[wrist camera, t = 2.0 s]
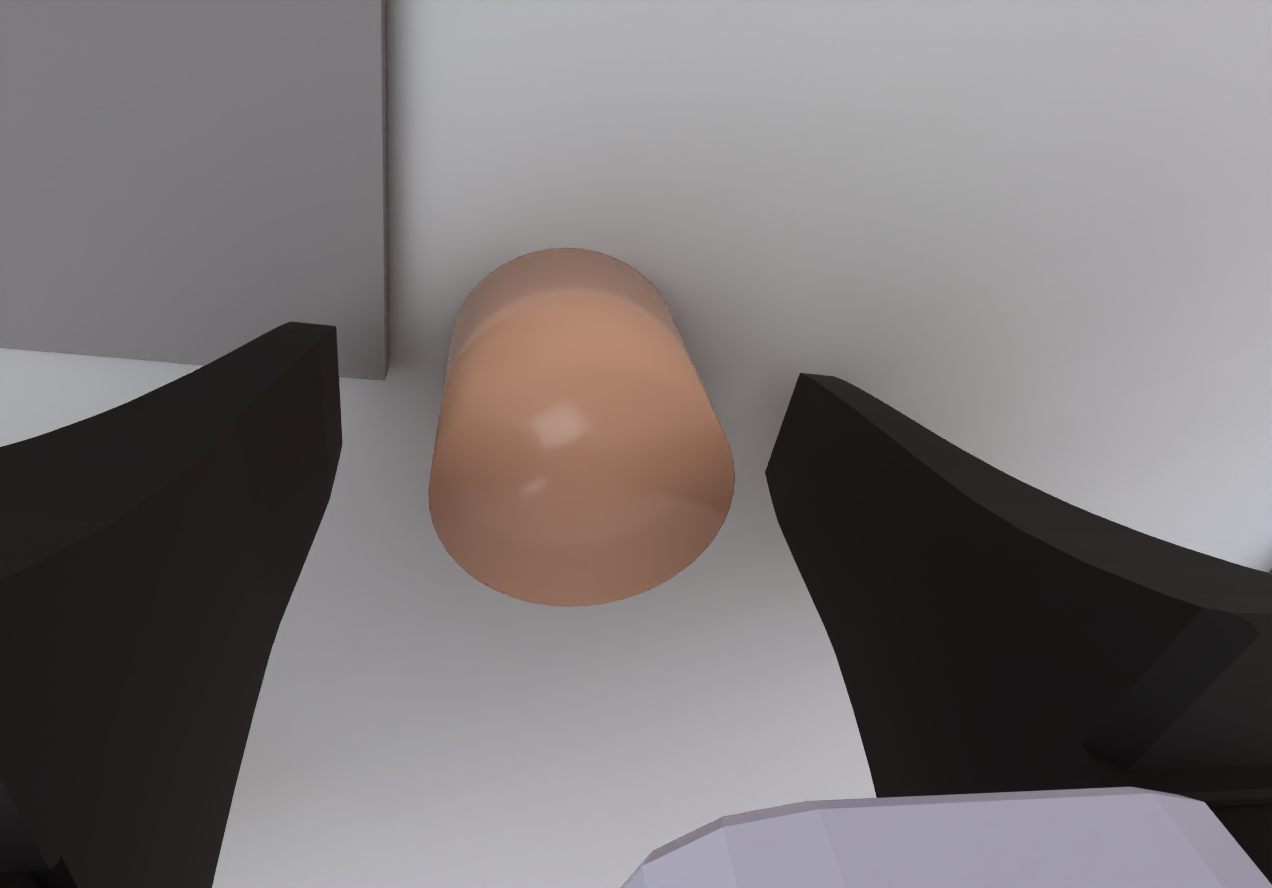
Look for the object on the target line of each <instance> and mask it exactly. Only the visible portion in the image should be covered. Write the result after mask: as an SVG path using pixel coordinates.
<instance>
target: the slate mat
mask: <svg viewBox="0 0 1272 888" xmlns="http://www.w3.org/2000/svg"><path fill="white" fill-rule="evenodd" d="M290 321H291V322H301V323H311V324H320V325H330V326H336V330H337V350H338V369H339V377H349V378H361V379H373V380H384V381H385V379H386V375H387V372H388V257H387V127H386V0H0V348H9V349H21V350H33V351H44V352H56V353H68V354H80V355H91V356H103V357H115V358H126V359H138V360H150V361H162V362H173V363H185V364H197V365H207V364H209V363H211V362H213V361H215V360H216V359H218V358H220V357H222V356H224V355H226V354H228V353H230V352H231V351H233V350H235V349H237V348H239V347H241V346H243V345H244V344H246V343H248V342H250V341H252V340H254V339H255V338H257V337H259V336H261V335H263V334H265V333H267V332H268V331H270V330H272V329H274V328H276V327H278V326H281V325H283V324H285V323H288V322H290Z"/></svg>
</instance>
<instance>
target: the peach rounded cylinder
mask: <svg viewBox="0 0 1272 888" xmlns="http://www.w3.org/2000/svg"><path fill="white" fill-rule="evenodd" d="M734 482H735V472H734V461H733V457H732V453H731V449H730V446H729V443H728V441H727V439H726V437H725V434H724V432H723V430H722V427H721V425H720V423H719V421H718V419H717V416H716V414H715V412H714V410H713V407H712V405H711V403H710V401H709V398H708V396H707V394H706V392H705V389H704V387H703V385H702V383H701V381H700V378H699V376H698V374H697V372H696V369H695V367H694V365H693V363H692V360H691V358H690V356H689V354H688V351H687V349H686V347H685V345H684V343H683V340H682V338H681V336H680V334H679V331H678V329H677V327H676V325H675V322H674V320H673V318H672V316H671V313H670V311H669V309H668V307H667V305H666V303H665V301H664V300H663V298H662V297H661V295H660V293H659V292H658V291H657V290H656V289H655V287H654V286H653V285H652V284H651V283H650V282H649V281H648V280H647V279H646V278H645V277H644V276H643V275H641V274H640V273H639V272H638V271H636V270H635V269H633V268H632V267H630V266H629V265H627V264H626V263H624V262H622V261H619V260H617V259H615V258H613V257H611V256H608V255H605V254H602V253H599V252H594V251H589V250H584V249H573V248H558V249H547V250H542V251H537V252H533V253H530V254H527V255H524V256H520V257H518V258H516V259H514V260H512V261H509V262H507V263H505V264H503V265H502V266H500V267H499V268H497V269H496V270H494V271H493V272H491V273H490V274H489V275H488V276H487V277H485V278H484V279H483V280H482V281H481V282H480V283H479V284H478V285H477V286H476V287H475V288H474V290H473V291H472V292H471V293H470V294H469V296H468V297H467V299H466V300H465V302H464V304H463V305H462V307H461V309H460V311H459V313H458V316H457V318H456V320H455V324H454V327H453V331H452V335H451V342H450V348H449V355H448V362H447V368H446V375H445V382H444V389H443V395H442V402H441V409H440V415H439V422H438V429H437V435H436V442H435V449H434V455H433V462H432V469H431V475H430V484H429V508H430V513H431V517H432V521H433V525H434V527H435V530H436V532H437V534H438V537H439V539H440V540H441V542H442V544H443V545H444V547H445V549H446V550H447V552H448V553H449V554H450V555H451V556H452V558H453V559H454V560H455V561H456V562H457V563H458V564H459V565H460V566H461V567H462V568H463V569H464V570H465V571H466V572H468V573H469V574H470V575H471V576H473V577H474V578H476V579H477V580H479V581H480V582H482V583H483V584H485V585H487V586H489V587H490V588H492V589H494V590H496V591H498V592H501V593H503V594H506V595H509V596H511V597H514V598H517V599H521V600H525V601H528V602H532V603H539V604H545V605H554V606H587V605H596V604H603V603H608V602H613V601H617V600H621V599H625V598H628V597H631V596H634V595H637V594H640V593H642V592H645V591H647V590H649V589H652V588H654V587H656V586H658V585H660V584H661V583H663V582H665V581H667V580H669V579H670V578H672V577H673V576H675V575H676V574H678V573H679V572H681V571H682V570H683V569H685V568H686V567H687V566H688V565H690V564H691V563H692V562H693V561H694V560H695V559H696V558H697V557H698V556H699V555H700V554H701V553H702V552H703V551H704V550H705V549H706V548H707V547H708V545H709V544H710V543H711V542H712V540H713V539H714V538H715V536H716V535H717V533H718V531H719V530H720V528H721V526H722V525H723V523H724V521H725V518H726V516H727V513H728V511H729V509H730V505H731V501H732V497H733V493H734Z"/></svg>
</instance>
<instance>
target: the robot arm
mask: <svg viewBox="0 0 1272 888" xmlns="http://www.w3.org/2000/svg"><path fill="white" fill-rule="evenodd" d="M341 448H342V428H341V408H340V389H339V369H338V350H337V330H336V326H330V325H320V324H311V323H301V322H291V321H290V322H288V323H285V324H283V325H281V326H278V327H276V328H274V329H272V330H270V331H268V332H267V333H265V334H263V335H261V336H259V337H257V338H255V339H254V340H252V341H250V342H248V343H246V344H244V345H243V346H241V347H239V348H237V349H235V350H233V351H231V352H230V353H228V354H226V355H224V356H222V357H220V358H218V359H216V360H215V361H213V362H211V363H209V364H207V365H205V366H203V367H201V368H200V369H198V370H196V371H194V372H192V373H190V374H187V375H185V376H183V377H181V378H179V379H177V380H175V381H173V382H170V383H168V384H166V385H164V386H162V387H160V388H158V389H156V390H153V391H151V392H149V393H147V394H145V395H143V396H141V397H139V398H136V399H134V400H132V401H130V402H127V403H125V404H123V405H120V406H118V407H116V408H113V409H111V410H108V411H106V412H103V413H101V414H98V415H96V416H93V417H90V418H88V419H85V420H82V421H79V422H76V423H74V424H71V425H68V426H65V427H63V428H60V429H57V430H54V431H52V432H49V433H46V434H43V435H40V436H37V437H34V438H31V439H27V440H24V441H20V442H17V443H13V444H10V445H7V446H3V447H0V888H212V884H213V880H214V875H215V871H216V867H217V862H218V858H219V854H220V849H221V845H222V841H223V837H224V832H225V828H226V824H227V819H228V815H229V811H230V807H231V802H232V798H233V794H234V789H235V785H236V781H237V777H238V773H239V770H240V766H241V762H242V758H243V754H244V750H245V746H246V742H247V738H248V734H249V730H250V726H251V722H252V718H253V714H254V711H255V707H256V703H257V699H258V696H259V692H260V688H261V685H262V681H263V677H264V674H265V670H266V666H267V663H268V659H269V655H270V652H271V649H272V646H273V643H274V640H275V637H276V634H277V631H278V628H279V625H280V622H281V620H282V617H283V615H284V612H285V610H286V607H287V605H288V602H289V600H290V597H291V595H292V592H293V590H294V587H295V585H296V583H297V580H298V578H299V575H300V573H301V570H302V568H303V565H304V563H305V560H306V558H307V555H308V553H309V550H310V548H311V545H312V543H313V540H314V538H315V535H316V533H317V530H318V528H319V525H320V522H321V520H322V517H323V515H324V512H325V510H326V507H327V504H328V502H329V499H330V495H331V491H332V487H333V483H334V479H335V475H336V471H337V466H338V462H339V457H340V453H341ZM765 474H766V478H767V483H768V487H769V491H770V495H771V499H772V503H773V506H774V509H775V513H776V516H777V520H778V523H779V525H780V527H781V530H782V532H783V535H784V537H785V539H786V542H787V544H788V546H789V548H790V551H791V553H792V555H793V558H794V560H795V562H796V564H797V566H798V569H799V571H800V573H801V575H802V578H803V580H804V582H805V584H806V586H807V589H808V591H809V593H810V595H811V598H812V600H813V602H814V604H815V606H816V609H817V611H818V613H819V615H820V617H821V620H822V622H823V624H824V626H825V629H826V631H827V634H828V636H829V639H830V641H831V644H832V646H833V649H834V651H835V654H836V657H837V660H838V663H839V666H840V669H841V673H842V676H843V679H844V682H845V685H846V688H847V691H848V695H849V698H850V701H851V704H852V707H853V711H854V714H855V718H856V721H857V725H858V728H859V732H860V735H861V739H862V743H863V746H864V750H865V753H866V757H867V760H868V764H869V768H870V772H871V776H872V780H873V784H874V788H875V792H876V797H877V798H866V799H844V800H821V801H804V802H799V803H794V804H788V805H783V806H777V807H772V808H767V809H761V810H756V811H751V812H745V813H740V814H735V815H729V816H724V817H721V818H719V819H717V820H715V821H713V822H711V823H709V824H707V825H705V826H703V827H701V828H699V829H697V830H695V831H693V832H690V833H688V834H686V835H684V836H682V837H680V838H678V839H676V840H674V841H672V842H670V843H668V844H666V845H664V846H662V847H660V848H658V849H655V850H653V851H652V852H651V853H650V855H649V856H648V857H647V858H646V859H645V860H644V861H643V863H642V864H641V865H640V866H639V867H638V868H637V870H636V871H635V872H634V873H633V874H632V875H631V876H630V878H629V879H628V880H627V881H626V882H625V883H624V884H623V886H622V887H621V888H1272V574H1270V573H1267V572H1263V571H1259V570H1255V569H1251V568H1248V567H1244V566H1241V565H1238V564H1234V563H1231V562H1228V561H1225V560H1222V559H1219V558H1215V557H1212V556H1209V555H1206V554H1203V553H1200V552H1196V551H1193V550H1190V549H1187V548H1184V547H1181V546H1178V545H1175V544H1172V543H1169V542H1166V541H1164V540H1161V539H1158V538H1155V537H1152V536H1149V535H1146V534H1144V533H1141V532H1138V531H1136V530H1133V529H1131V528H1128V527H1126V526H1123V525H1120V524H1118V523H1115V522H1113V521H1110V520H1108V519H1105V518H1102V517H1100V516H1097V515H1095V514H1092V513H1090V512H1088V511H1085V510H1083V509H1080V508H1078V507H1076V506H1073V505H1071V504H1069V503H1066V502H1064V501H1062V500H1060V499H1058V498H1056V497H1053V496H1051V495H1049V494H1047V493H1045V492H1043V491H1041V490H1039V489H1036V488H1034V487H1032V486H1030V485H1028V484H1026V483H1024V482H1022V481H1020V480H1018V479H1016V478H1014V477H1012V476H1010V475H1008V474H1006V473H1004V472H1002V471H1000V470H998V469H996V468H994V467H993V466H991V465H989V464H987V463H985V462H984V461H982V460H980V459H978V458H976V457H975V456H973V455H971V454H969V453H967V452H966V451H964V450H962V449H960V448H959V447H957V446H955V445H953V444H952V443H950V442H948V441H947V440H945V439H943V438H941V437H940V436H938V435H936V434H935V433H933V432H931V431H930V430H928V429H926V428H925V427H923V426H922V425H920V424H918V423H917V422H915V421H913V420H912V419H910V418H908V417H907V416H905V415H904V414H902V413H900V412H899V411H897V410H895V409H894V408H892V407H890V406H889V405H887V404H885V403H884V402H882V401H880V400H879V399H877V398H875V397H874V396H872V395H870V394H868V393H867V392H865V391H863V390H861V389H860V388H858V387H856V386H854V385H852V384H850V383H848V382H846V381H844V380H841V379H839V378H836V377H834V376H824V375H814V374H804V373H800V375H799V377H798V380H797V383H796V386H795V389H794V392H793V394H792V397H791V400H790V403H789V406H788V409H787V411H786V414H785V417H784V420H783V423H782V426H781V428H780V431H779V434H778V437H777V440H776V443H775V445H774V448H773V451H772V454H771V457H770V460H769V462H768V465H767V468H766V471H765Z"/></svg>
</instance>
